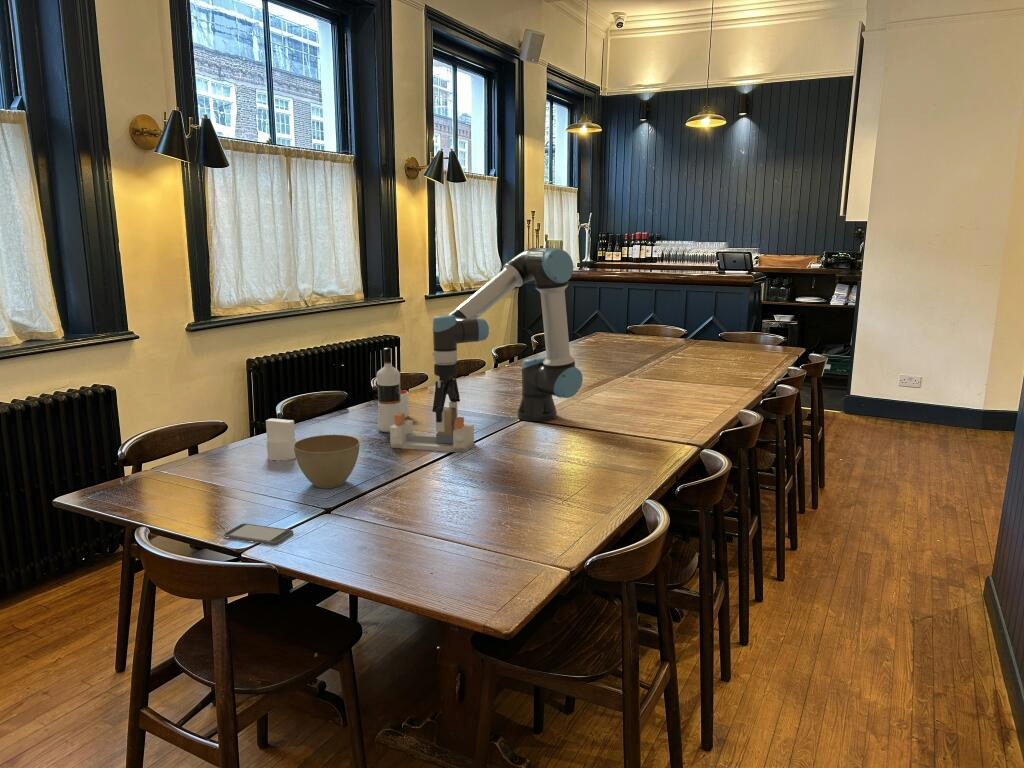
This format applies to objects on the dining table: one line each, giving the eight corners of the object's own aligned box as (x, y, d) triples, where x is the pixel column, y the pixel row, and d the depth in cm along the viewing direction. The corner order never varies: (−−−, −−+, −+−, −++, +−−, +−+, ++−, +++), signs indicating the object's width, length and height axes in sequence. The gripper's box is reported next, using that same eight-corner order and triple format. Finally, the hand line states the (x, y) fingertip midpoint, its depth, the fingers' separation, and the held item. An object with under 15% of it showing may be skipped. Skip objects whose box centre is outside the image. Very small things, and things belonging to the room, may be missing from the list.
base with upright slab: (302, 454, 238) (300, 418, 235) (285, 462, 230) (283, 425, 227) (279, 451, 241) (276, 416, 238) (261, 459, 232) (258, 422, 230)
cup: (404, 421, 278) (403, 395, 276) (379, 420, 280) (377, 394, 278) (412, 415, 287) (411, 390, 285) (388, 413, 289) (387, 389, 287)
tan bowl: (328, 499, 198) (326, 456, 195) (282, 487, 207) (279, 446, 204) (374, 480, 213) (372, 439, 210) (329, 469, 222) (327, 431, 219)
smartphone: (275, 542, 168) (222, 534, 173) (276, 547, 169) (222, 539, 173) (294, 530, 175) (242, 523, 180) (295, 534, 175) (243, 527, 180)
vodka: (375, 427, 269) (372, 346, 263) (400, 425, 272) (397, 345, 266) (380, 434, 260) (376, 350, 254) (405, 431, 264) (402, 349, 257)
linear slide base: (474, 444, 247) (473, 415, 245) (464, 453, 238) (464, 423, 236) (402, 439, 254) (401, 411, 252) (390, 447, 244) (389, 418, 242)
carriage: (458, 439, 246) (457, 407, 244) (453, 443, 241) (452, 411, 239) (441, 438, 247) (440, 406, 245) (436, 442, 242) (435, 410, 240)
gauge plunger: (404, 421, 249) (404, 412, 248) (400, 424, 245) (399, 415, 244) (399, 421, 249) (399, 412, 249) (394, 424, 245) (394, 415, 245)
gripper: (447, 356, 251) (448, 416, 256) (420, 369, 228) (423, 435, 232) (467, 356, 250) (469, 417, 254) (443, 370, 226) (445, 436, 230)
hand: (447, 426), depth 243 cm, fingers open, 13 cm apart
